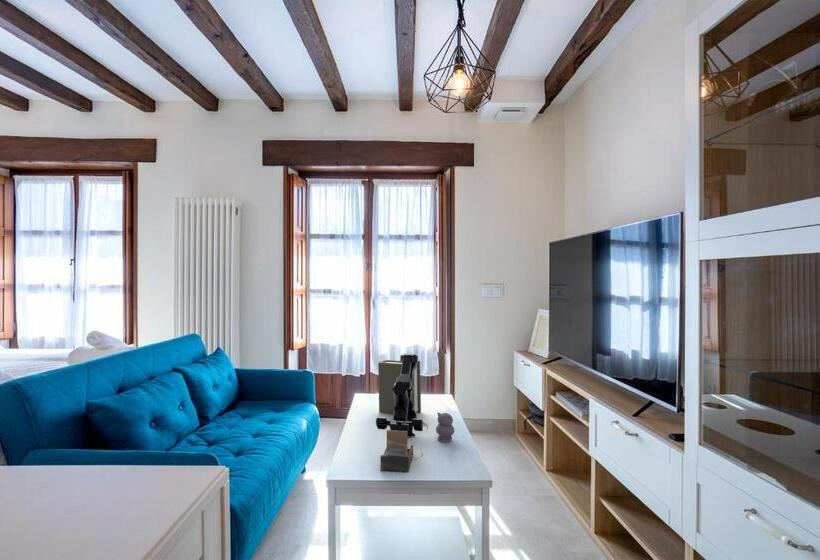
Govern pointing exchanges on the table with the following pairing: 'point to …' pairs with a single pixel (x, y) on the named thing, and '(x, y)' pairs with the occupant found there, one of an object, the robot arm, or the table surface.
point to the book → (387, 379)
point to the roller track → (396, 462)
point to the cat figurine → (445, 427)
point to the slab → (396, 443)
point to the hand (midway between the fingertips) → (397, 444)
